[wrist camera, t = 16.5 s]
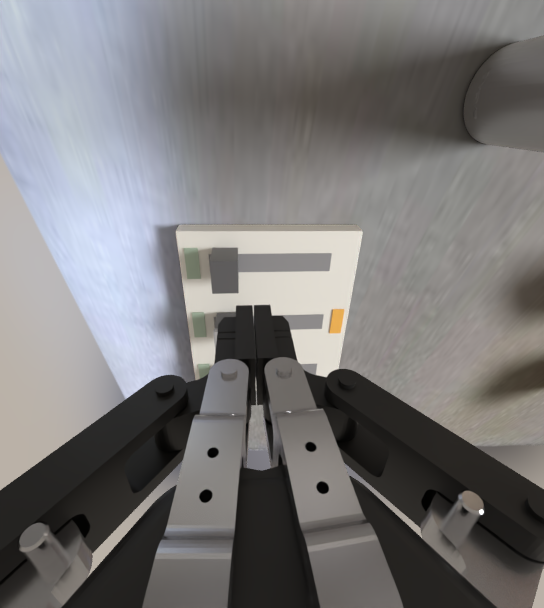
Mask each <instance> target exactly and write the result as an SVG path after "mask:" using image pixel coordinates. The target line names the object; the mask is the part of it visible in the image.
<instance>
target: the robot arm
mask: <svg viewBox="0 0 544 608" xmlns="http://www.w3.org/2000/svg"><path fill="white" fill-rule="evenodd" d="M464 121H465V125H466V128H467V130H468V132H469V134H470V135H471V136H472V137H473V138H474V139H475V140H477V141H478V142H480V143H484V144H488V145H495V146H502V147H509V148H515V149H523V150H530V151H537V152H544V36H540V37H536V38H532V39H528V40H524V41H520V42H516V43H512V44H509V45H507V46H505V47H503V48H501V49H500V50H498V51H497V52H495V53H494V54H493V55H492V56H491V57H490V58H488V59H487V60H486V61H485V62H484V63H483V65H482V66H481V67H480V69H479V70H478V71H477V73H476V74H475V76H474V78H473V80H472V82H471V83H470V86H469V89H468V91H467V94H466V98H465V103H464ZM256 389H257V405H263V410H264V429H265V435H266V441H267V447H268V453H269V459H270V466H271V468H270V469H267V470H263V471H260V470H254V469H248V468H247V456H248V441H249V420H250V418H251V405H256ZM182 460H183V462H182V467H181V471H180V474H179V479H178V483H177V485H176V486H174V487H172V488H171V489H170V490H168V491H167V492H165V493H164V494H163V495H162V496H161V497H160V498H159V499H157V500H156V501H155V502H154V503H153V504H152V506H151V507H150V508H149V509H148V510H147V511H146V512H145V513H144V515H143V516H142V517H141V518H140V519H139V520H138V521H137V522H136V524H135V525H134V526H133V527H132V528H131V529H130V530H129V531H128V533H127V534H126V535H125V536H124V537H123V538H122V540H121V541H120V542H119V543H118V544H117V545H116V546H115V547H114V548H113V550H112V551H111V552H110V553H109V554H108V555H107V556H106V557H105V559H104V560H103V561H102V562H101V563H100V564H99V565H98V567H97V568H96V569H95V570H94V571H93V572H92V573H91V574H90V576H89V577H88V574H89V572H90V569H91V566H92V557H93V556H92V553H93V552H94V551H95V550H96V549H97V548H98V547H99V546H100V545H101V544H102V543H103V542H104V541H105V540H106V539H107V538H108V537H109V536H110V535H111V533H113V531H114V530H116V528H117V527H118V526H119V525H120V524H121V523H122V522H123V521H124V520H125V519H126V518H127V517H128V516H129V515H130V514H131V513H132V512H133V511H134V510H135V509H136V508H137V507H138V506H139V505H140V504H141V503H142V502H143V501H144V500H145V499H146V497H148V495H149V494H150V493H151V492H152V491H153V490H154V489H155V488H156V487H157V486H158V485H159V484H160V483H161V482H162V481H163V480H164V479H165V478H166V477H167V476H168V475H169V474H170V473H171V472H172V471H173V469H175V468H176V466H178V464H179V463H180V462H181V461H182ZM344 463H345V464H347V465H348V466H349V467H350V468H351V469H352V470H353V471H355V472H356V473H357V474H358V475H359V476H360V477H362V478H363V479H364V480H365V481H366V482H367V483H369V484H370V485H371V486H372V487H373V488H374V489H376V490H377V491H378V492H379V493H380V494H381V495H383V496H384V497H385V498H386V499H387V500H389V501H390V502H391V503H392V504H393V505H394V506H395V507H397V508H398V509H399V510H400V511H401V512H402V513H404V514H405V515H406V516H407V517H408V518H409V519H411V520H412V521H413V522H414V523H415V524H416V525H418V526H419V527H420V528H421V535H422V538H423V539H422V538H421V537H420V536H419V535H418V534H416V532H414V531H413V530H412V529H411V528H410V527H409V526H408V525H407V524H406V523H405V522H403V521H402V520H401V519H400V518H399V517H398V516H397V515H396V514H395V513H394V512H393V511H392V510H390V508H388V507H387V506H386V505H385V504H384V503H383V502H382V501H381V500H380V499H379V498H378V497H377V496H375V495H374V494H373V493H372V492H371V491H370V490H369V489H368V488H367V487H365V486H364V485H363V484H362V483H360V482H359V481H357V480H356V479H354V478H352V477H351V476H349V475H348V472H347V470H346V467H345V464H344ZM543 569H544V489H542V488H540V487H539V486H537V485H536V484H534V483H532V482H531V481H529V480H528V479H526V478H525V477H523V476H521V475H520V474H518V473H516V472H515V471H513V470H512V469H510V468H508V467H507V466H505V465H504V464H502V463H501V462H499V461H497V460H496V459H494V458H492V457H491V456H489V455H488V454H486V453H484V452H483V451H481V450H480V449H478V448H476V447H475V446H473V445H472V444H470V443H469V442H467V441H465V440H464V439H462V438H461V437H459V436H457V435H456V434H454V433H453V432H451V431H449V430H448V429H446V428H445V427H443V426H441V425H440V424H438V423H437V422H435V421H433V420H432V419H430V418H429V417H427V416H425V415H424V414H422V413H421V412H419V411H417V410H416V409H414V408H413V407H411V406H409V405H408V404H406V403H405V402H403V401H401V400H400V399H398V398H397V397H395V396H393V395H392V394H390V393H389V392H387V391H385V390H384V389H382V388H381V387H379V386H377V385H376V384H374V383H373V382H371V381H369V380H368V379H366V378H365V377H363V376H361V375H360V374H358V373H356V372H354V371H352V370H348V369H337V370H334V371H332V372H330V373H329V374H328V376H327V377H323V376H318V375H314V374H311V373H309V372H307V371H305V370H304V369H303V367H302V366H301V364H300V363H299V362H298V361H297V357H296V352H295V348H294V344H293V339H292V335H291V331H290V326H289V322H288V321H287V320H286V319H285V318H284V317H283V316H272V313H271V306H270V305H254V323H253V306H252V305H236V317H224V318H223V319H222V320H221V321H220V323H219V324H218V334H217V342H216V352H215V362H214V365H213V366H212V367H211V369H210V371H209V373H208V374H207V375H206V376H204V377H203V378H201V379H198V380H195V381H191V382H188V383H186V382H185V381H184V379H182V378H181V377H179V376H175V375H165V376H161V377H158V378H156V379H154V380H152V381H151V382H149V383H148V384H147V385H145V386H144V387H142V388H141V389H140V390H138V391H137V392H135V393H134V394H133V395H131V396H130V397H129V398H127V399H126V400H124V401H123V402H122V403H120V404H119V405H118V406H116V407H115V408H113V409H112V410H111V411H110V412H108V413H107V414H106V415H104V416H103V417H101V418H100V419H98V420H97V421H96V422H94V423H93V424H91V425H90V426H89V427H87V428H86V429H84V430H83V431H82V432H81V433H79V434H78V435H76V436H75V437H73V438H72V439H71V440H69V441H68V442H66V443H65V444H64V445H62V446H61V447H60V448H58V449H57V450H55V451H54V452H53V453H51V454H50V455H49V456H47V457H46V458H44V459H43V460H42V461H40V462H39V463H38V464H36V465H35V466H33V467H32V468H31V469H29V470H28V471H26V472H25V473H24V474H22V475H21V476H20V477H18V478H17V479H15V480H14V481H13V482H11V483H10V484H9V485H7V486H6V487H4V488H3V489H2V490H0V608H532V605H533V602H534V598H535V595H536V591H537V587H538V584H539V580H540V577H541V573H542V570H543ZM87 577H88V578H87Z"/></svg>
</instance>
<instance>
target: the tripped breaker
mask: <svg viewBox="0 0 544 608" xmlns="http://www.w3.org/2000/svg"><path fill="white" fill-rule="evenodd" d="M224 317H236V313H217V315H216V323H215V329H214V343H215V352H216V342H217V334H218V324H219V323H220V321H221V320H222V319H223V318H224Z"/></svg>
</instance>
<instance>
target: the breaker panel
mask: <svg viewBox="0 0 544 608" xmlns="http://www.w3.org/2000/svg"><path fill="white" fill-rule="evenodd" d="M362 234H363V231H362V230H361V229H360V228H359V227H358V226H357V225H179V226H178V228H177V230H176V238H177V245H178V253H179V260H180V268H181V275H182V283H183V290H184V298H185V305H186V313H187V320H188V328H189V335H190V342H191V350H192V357H193V365H194V372H195V380H198V379H201V378H203V377H204V376H206V375H207V374H208V373H209V371H210V369H211V367H212V366H213V365H214V362H215V343H214V329H215V323H216V315H217V313H236V305H252V306H253V323H254V305H270V306H271V313H272V316H283V317H284V318H285V319H286V320H287V321H288V322H289V326H290V331H291V335H292V339H293V344H294V348H295V352H296V357H297V361H298V362H299V363H300V364H301V366H302V367H303V369H304V370H305V371H307V372H309V373H311V374H314V375H318V376H323V377H327V376H328V374H329V373H330V372H332V371H334V370H337V369H338V368H339V362H340V357H341V351H342V346H343V340H344V334H345V329H346V323H347V318H348V312H349V307H350V301H351V295H352V290H353V284H354V279H355V273H356V267H357V262H358V256H359V251H360V245H361V240H362ZM256 391H257V389H256Z"/></svg>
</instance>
